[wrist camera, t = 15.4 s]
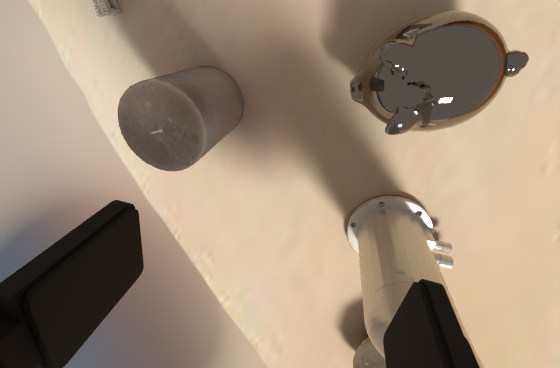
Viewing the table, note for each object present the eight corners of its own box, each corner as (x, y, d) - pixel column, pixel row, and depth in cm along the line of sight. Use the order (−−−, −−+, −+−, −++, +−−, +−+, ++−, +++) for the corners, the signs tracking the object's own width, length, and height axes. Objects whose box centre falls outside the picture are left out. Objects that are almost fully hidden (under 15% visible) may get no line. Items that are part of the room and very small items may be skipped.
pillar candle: (188, 134, 44) (126, 177, 31) (172, 67, 40) (92, 83, 27) (248, 133, 42) (209, 178, 29) (239, 62, 38) (188, 78, 25)
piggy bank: (342, 36, 34) (343, 37, 24) (486, -2, 30) (558, -20, 20) (354, 126, 39) (359, 157, 29) (480, 103, 35) (537, 131, 25)
